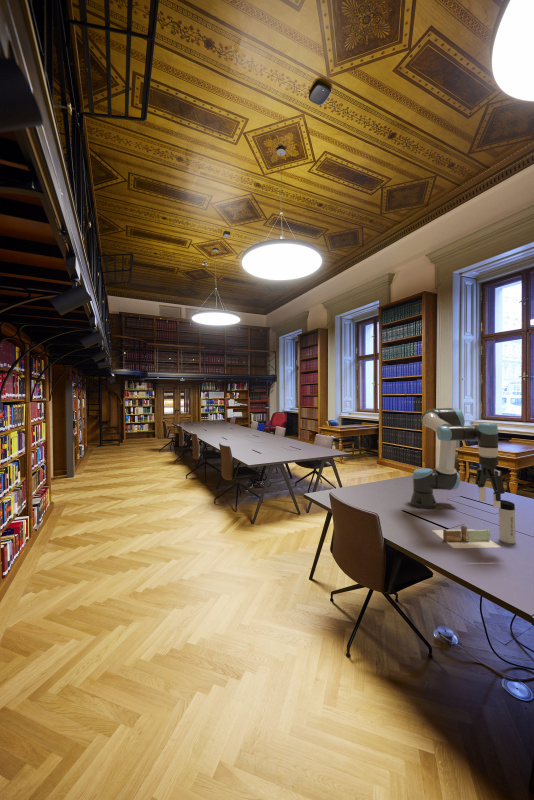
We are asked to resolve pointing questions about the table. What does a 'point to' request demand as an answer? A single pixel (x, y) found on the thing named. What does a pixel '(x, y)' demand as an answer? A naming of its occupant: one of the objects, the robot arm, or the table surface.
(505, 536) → the travel mug
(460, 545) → the card
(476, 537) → the hinged rail
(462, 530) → the fence fixed
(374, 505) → the table surface
